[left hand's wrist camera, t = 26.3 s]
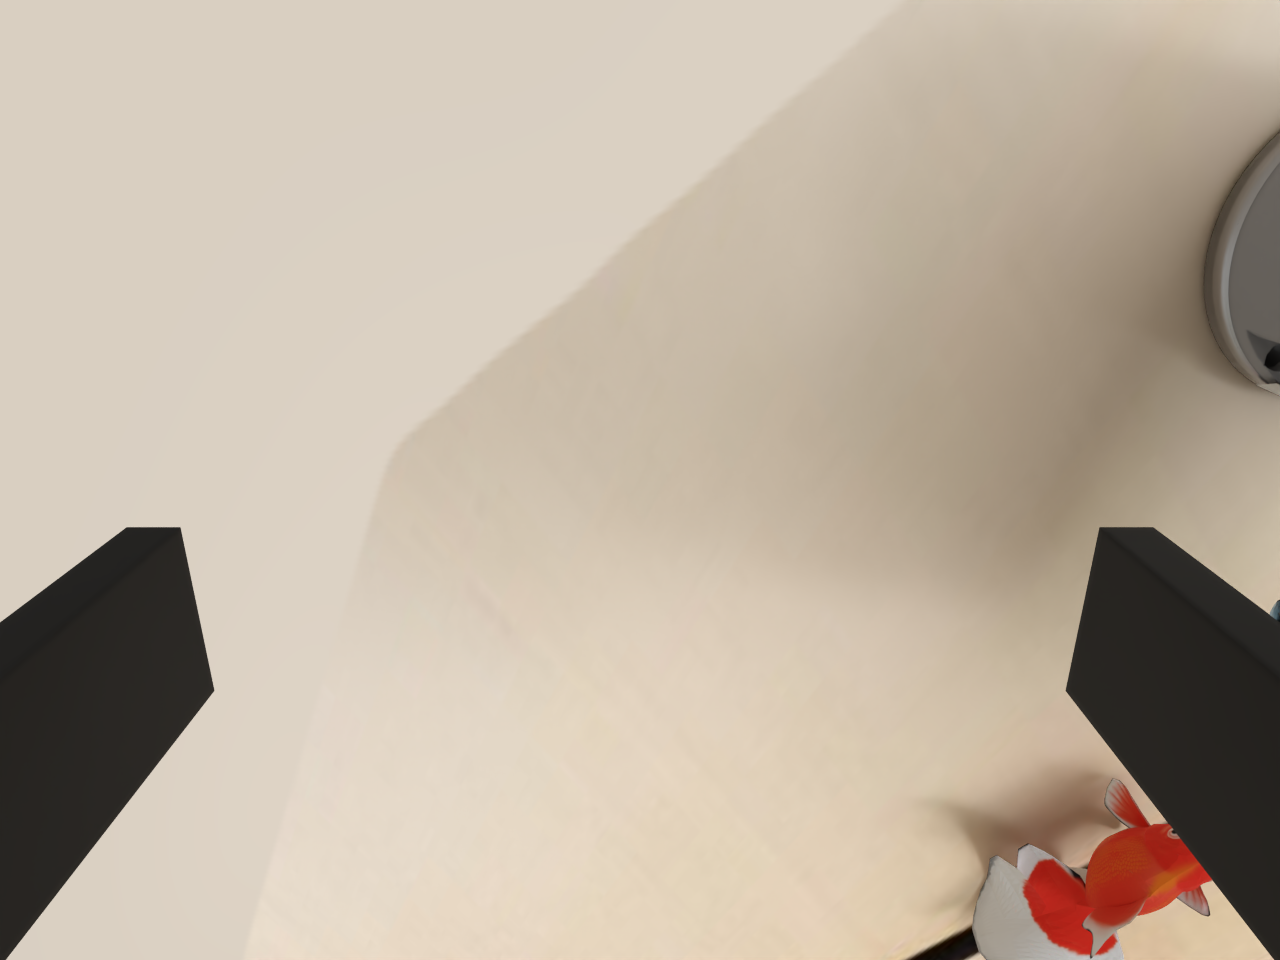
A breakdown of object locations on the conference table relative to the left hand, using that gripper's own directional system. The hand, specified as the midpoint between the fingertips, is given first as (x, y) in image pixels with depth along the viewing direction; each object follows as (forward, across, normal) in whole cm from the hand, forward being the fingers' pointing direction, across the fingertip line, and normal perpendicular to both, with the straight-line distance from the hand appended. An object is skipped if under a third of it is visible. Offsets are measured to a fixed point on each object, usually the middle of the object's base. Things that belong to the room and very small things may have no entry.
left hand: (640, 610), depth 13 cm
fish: (+32, +27, -36) cm, 55 cm away
